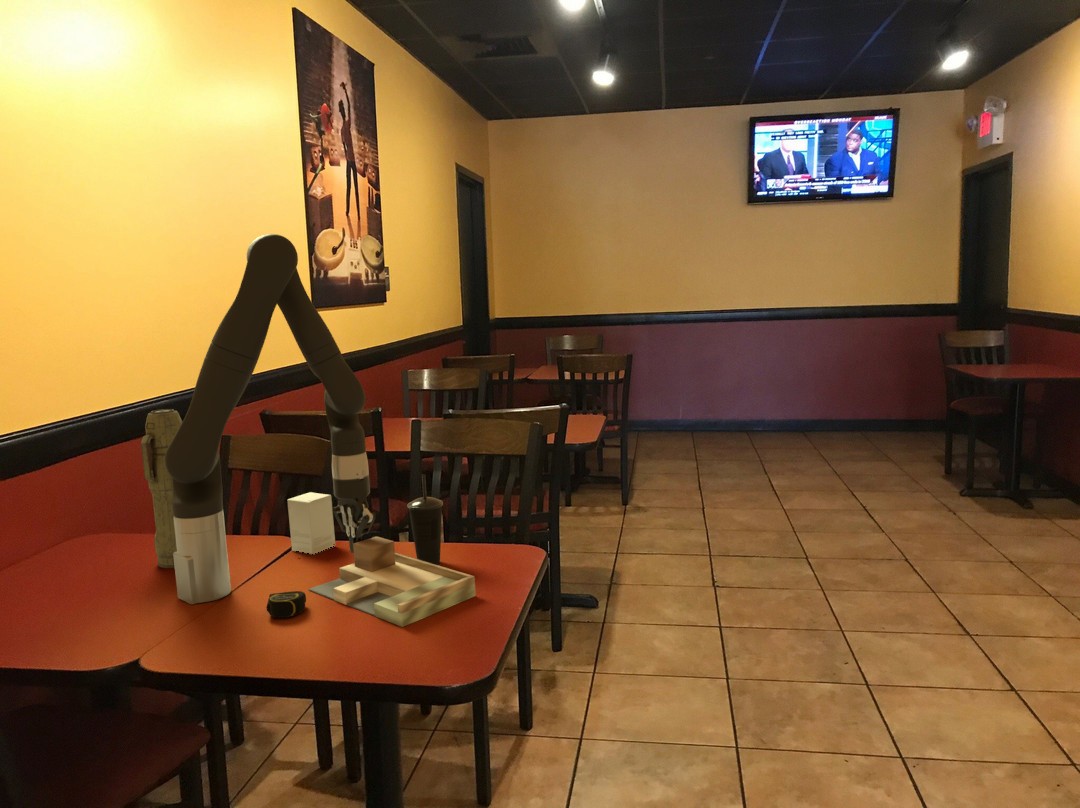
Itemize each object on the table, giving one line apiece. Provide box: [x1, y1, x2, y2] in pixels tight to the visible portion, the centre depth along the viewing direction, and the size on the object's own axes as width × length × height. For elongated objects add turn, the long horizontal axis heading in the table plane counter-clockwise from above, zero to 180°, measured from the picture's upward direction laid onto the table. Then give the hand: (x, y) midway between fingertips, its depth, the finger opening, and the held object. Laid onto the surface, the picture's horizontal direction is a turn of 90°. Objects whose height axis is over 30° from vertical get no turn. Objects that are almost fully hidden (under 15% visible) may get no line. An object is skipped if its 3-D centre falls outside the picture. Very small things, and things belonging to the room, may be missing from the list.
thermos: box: [140, 408, 183, 569], centre depth 183 cm, size 9×12×35 cm
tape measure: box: [265, 590, 307, 618], centre depth 153 cm, size 7×7×4 cm
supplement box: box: [287, 491, 336, 555], centre depth 191 cm, size 7×7×13 cm
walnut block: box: [353, 536, 396, 572], centre depth 170 cm, size 6×6×5 cm
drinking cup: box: [406, 473, 444, 566], centre depth 176 cm, size 8×8×20 cm
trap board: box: [308, 552, 476, 628], centre depth 161 cm, size 18×30×4 cm, turn 48°
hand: (356, 552), depth 175 cm, fingers closed
